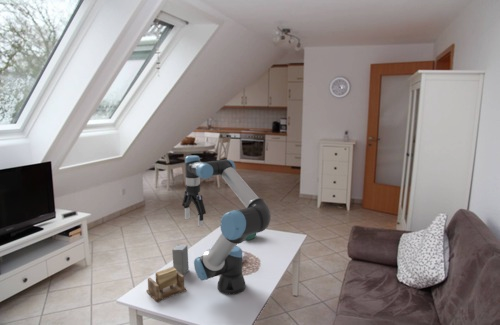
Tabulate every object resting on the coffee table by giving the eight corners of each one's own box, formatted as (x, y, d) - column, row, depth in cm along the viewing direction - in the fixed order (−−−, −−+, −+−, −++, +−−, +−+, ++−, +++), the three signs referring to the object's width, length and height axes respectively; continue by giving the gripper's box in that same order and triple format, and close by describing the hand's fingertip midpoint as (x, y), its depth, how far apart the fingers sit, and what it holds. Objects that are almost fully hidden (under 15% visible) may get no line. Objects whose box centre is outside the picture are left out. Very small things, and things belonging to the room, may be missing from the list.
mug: (245, 233, 259) (245, 221, 258) (259, 236, 253) (259, 224, 252) (233, 240, 245) (233, 228, 244) (248, 244, 239) (248, 231, 237)
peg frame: (186, 290, 181) (185, 276, 179) (156, 302, 170) (156, 287, 168) (175, 281, 190) (174, 268, 188) (146, 291, 179) (145, 278, 177)
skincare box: (183, 276, 195) (183, 250, 192) (172, 275, 196) (171, 249, 193) (189, 269, 203) (188, 244, 200) (178, 268, 204) (177, 243, 202)
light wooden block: (176, 283, 181) (176, 269, 179) (159, 289, 174) (158, 275, 173) (173, 280, 184) (172, 266, 182) (156, 286, 177) (155, 272, 176)
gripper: (212, 188, 173) (212, 227, 177) (187, 179, 192) (188, 215, 195) (199, 190, 168) (200, 230, 172) (175, 181, 187) (176, 217, 191)
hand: (193, 222), depth 184 cm, fingers open, 13 cm apart
